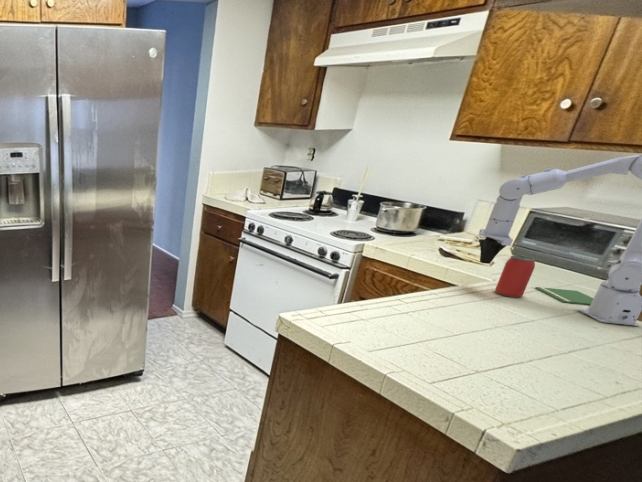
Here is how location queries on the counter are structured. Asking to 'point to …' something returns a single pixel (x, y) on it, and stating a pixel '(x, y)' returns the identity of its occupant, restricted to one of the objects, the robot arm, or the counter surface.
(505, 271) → the beer can
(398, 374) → the counter surface
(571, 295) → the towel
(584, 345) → the counter surface
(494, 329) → the counter surface
